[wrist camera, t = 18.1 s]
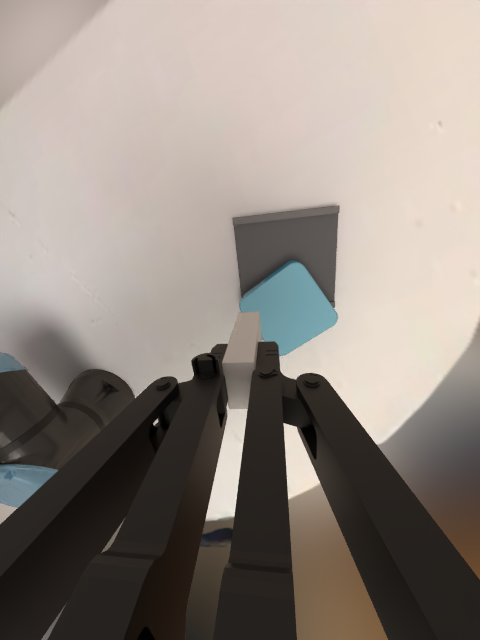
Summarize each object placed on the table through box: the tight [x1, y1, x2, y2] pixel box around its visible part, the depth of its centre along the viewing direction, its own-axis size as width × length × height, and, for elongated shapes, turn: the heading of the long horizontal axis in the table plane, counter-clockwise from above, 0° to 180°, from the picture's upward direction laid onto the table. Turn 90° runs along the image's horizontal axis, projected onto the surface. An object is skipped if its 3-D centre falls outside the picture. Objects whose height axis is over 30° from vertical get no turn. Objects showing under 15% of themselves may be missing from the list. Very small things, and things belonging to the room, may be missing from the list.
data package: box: [239, 260, 338, 356], centre depth 40 cm, size 12×4×12 cm
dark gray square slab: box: [233, 206, 339, 308], centre depth 40 cm, size 16×16×2 cm
